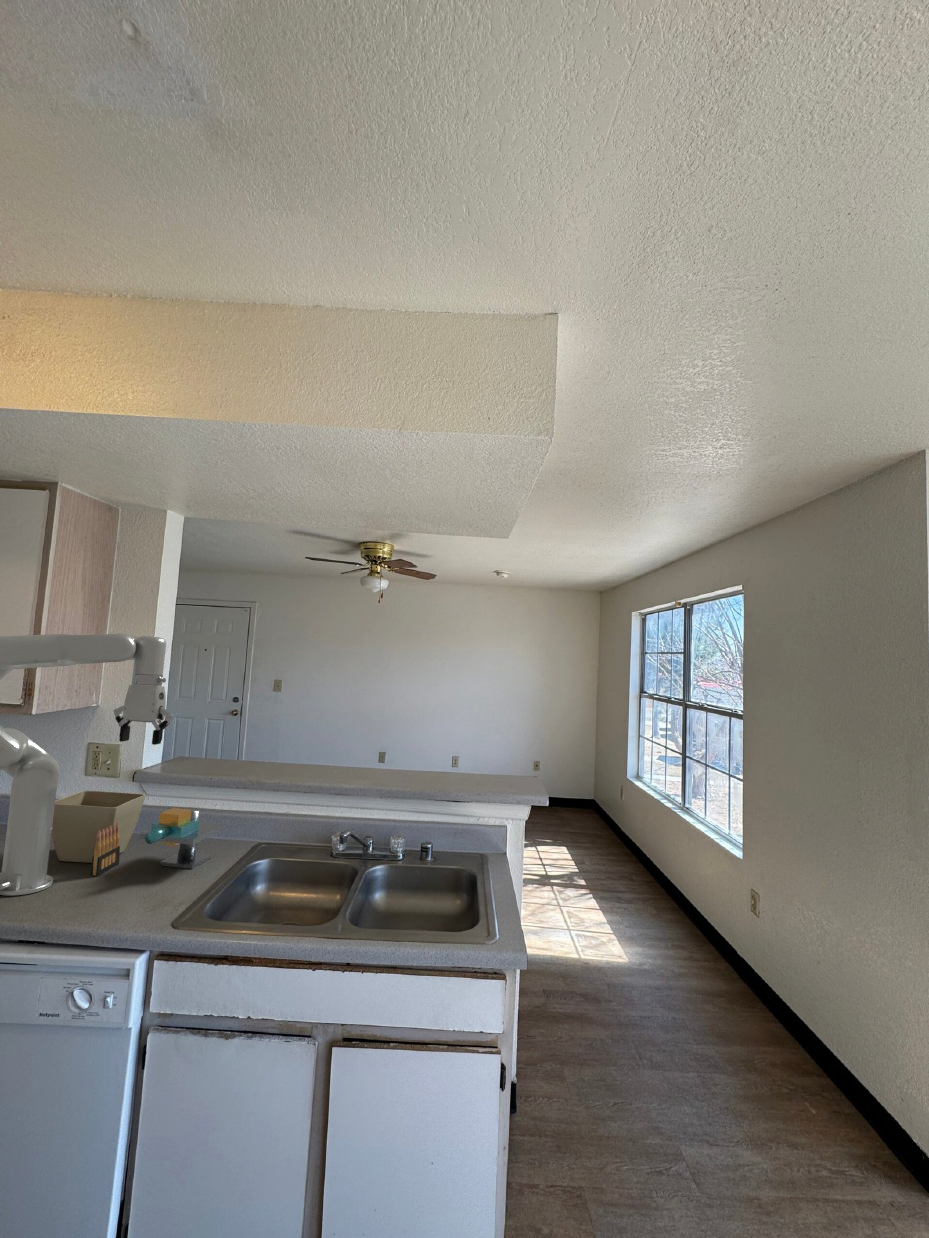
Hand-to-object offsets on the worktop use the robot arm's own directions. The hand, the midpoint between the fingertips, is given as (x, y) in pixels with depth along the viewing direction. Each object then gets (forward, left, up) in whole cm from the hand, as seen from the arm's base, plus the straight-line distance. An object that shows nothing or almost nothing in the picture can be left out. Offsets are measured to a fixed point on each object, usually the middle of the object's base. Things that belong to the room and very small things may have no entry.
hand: (140, 742), depth 169 cm
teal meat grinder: (+9, -8, -36) cm, 38 cm away
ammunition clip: (+3, +8, -36) cm, 37 cm away
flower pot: (+11, +19, -36) cm, 43 cm away
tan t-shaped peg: (+8, -8, -29) cm, 31 cm away
